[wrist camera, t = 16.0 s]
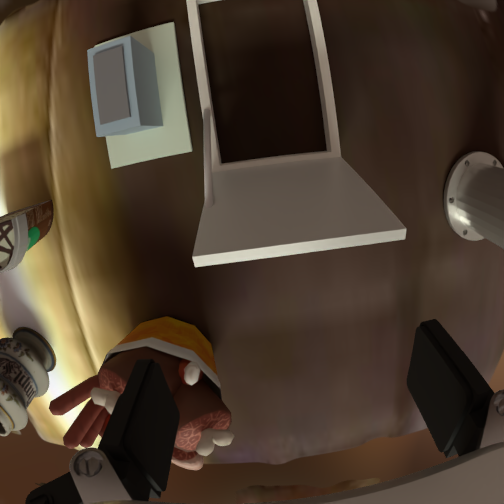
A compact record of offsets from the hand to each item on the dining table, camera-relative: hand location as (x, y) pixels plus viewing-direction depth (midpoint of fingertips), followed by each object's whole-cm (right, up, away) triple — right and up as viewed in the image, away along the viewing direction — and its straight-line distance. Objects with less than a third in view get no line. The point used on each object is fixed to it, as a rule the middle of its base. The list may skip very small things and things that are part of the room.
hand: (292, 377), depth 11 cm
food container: (-32, +8, +27) cm, 43 cm away
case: (0, +23, +22) cm, 31 cm away
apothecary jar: (-40, -13, +35) cm, 55 cm away
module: (-14, +22, +21) cm, 34 cm away
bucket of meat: (-13, -9, +34) cm, 38 cm away
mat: (-14, +22, +22) cm, 34 cm away
